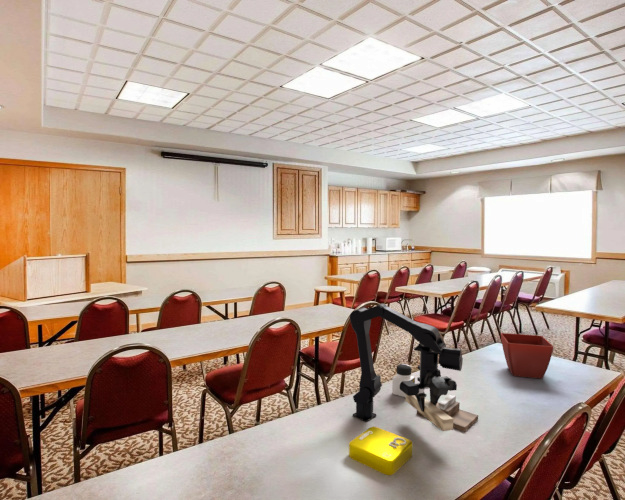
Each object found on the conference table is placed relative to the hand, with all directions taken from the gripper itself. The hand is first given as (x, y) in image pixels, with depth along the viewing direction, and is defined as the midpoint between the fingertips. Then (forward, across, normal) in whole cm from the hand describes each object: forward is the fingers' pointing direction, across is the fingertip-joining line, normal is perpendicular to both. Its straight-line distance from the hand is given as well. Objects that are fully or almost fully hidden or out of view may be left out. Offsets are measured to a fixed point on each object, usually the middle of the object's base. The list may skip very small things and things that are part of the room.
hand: (427, 410), depth 128 cm
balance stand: (+8, +14, +8) cm, 18 cm away
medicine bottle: (+8, +9, +31) cm, 33 cm away
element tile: (+8, -21, -7) cm, 24 cm away
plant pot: (+8, +78, +36) cm, 87 cm away
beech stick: (+1, 0, 0) cm, 1 cm away
